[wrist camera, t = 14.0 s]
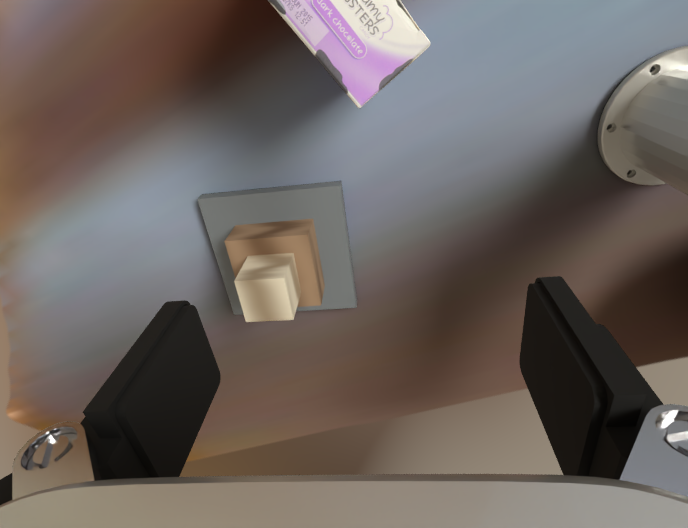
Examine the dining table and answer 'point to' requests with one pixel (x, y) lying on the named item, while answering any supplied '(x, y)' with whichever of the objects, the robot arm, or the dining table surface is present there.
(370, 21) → the candy box
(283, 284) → the maple cube
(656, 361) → the dining table surface
